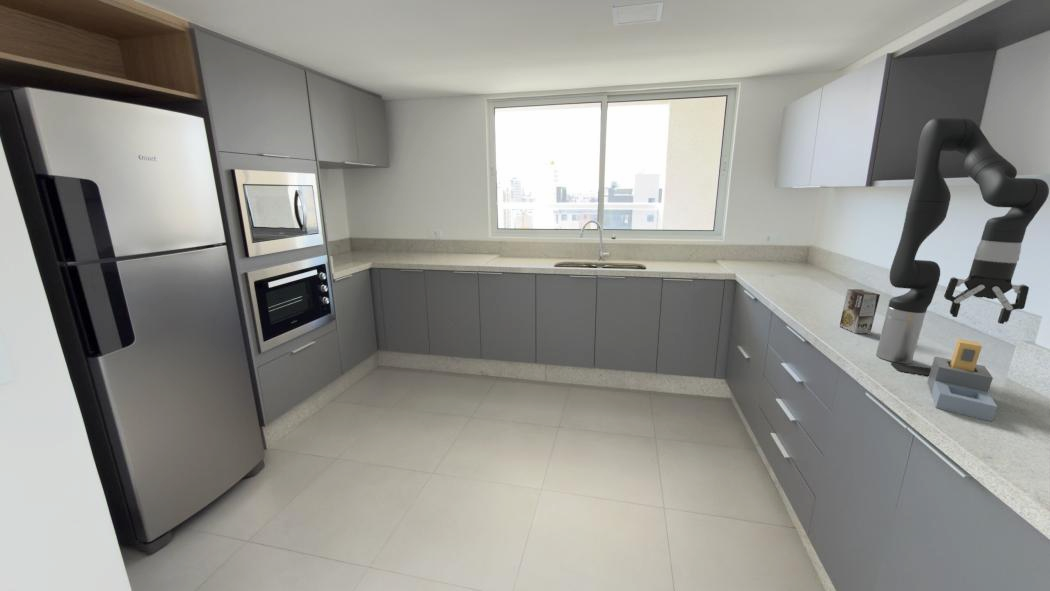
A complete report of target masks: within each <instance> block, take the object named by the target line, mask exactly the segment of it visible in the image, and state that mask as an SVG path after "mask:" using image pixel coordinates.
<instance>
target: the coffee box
mask: <svg viewBox="0 0 1050 591" xmlns="http://www.w3.org/2000/svg"><path fill="white" fill-rule="evenodd" d="M845 293H846V294H845V298H844V304H843V308H842V313H841V318H840V322H839V326H841V327H840V328H842V327H843V328H842V329H844V328H845V329H844V330H846V329H848V330H847V331H849V330H850V331H849V332H851V331H852V332H851V333H853V332H854V333H853V334H857V333H870V334H871V333H872V328H873V326H874V325H873V324H874V320H875V317H876V316H875V315H876V312H877V308H878V304H879V301H880V297H881V295H880V294H879V293H876V292H873V291H868V290H866V289H862V288H861V289H858V288H857V289H855V288H854V289H851V288H850V289H848V288H847V289H846V292H845Z"/></svg>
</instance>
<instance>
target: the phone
mask: <svg viewBox="0 0 1050 591" xmlns="http://www.w3.org/2000/svg"><path fill="white" fill-rule="evenodd" d="M890 365H891V367H893V368H894V369H895V371H897V372H900V373H903V372H904V373H905V374H909V373H910V374H909V375H915V374H918V375H917V376H922V375H923V377H928V376H929V374H930V371H931V367H925V366H919V365H911V364H906V363H897V362H891V363H890Z"/></svg>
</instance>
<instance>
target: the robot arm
mask: <svg viewBox="0 0 1050 591" xmlns="http://www.w3.org/2000/svg"><path fill="white" fill-rule="evenodd" d="M953 151H955V152H959V153H960V154H962V155H964V156H965V159H964V166H963V167H964V170H965V172H966V174H967V175H968V176H969V177H970V179H972V180H973V181H974V182H975V183H976V184H977V185H978V187H979V190H980V193H981V196H982V199H983V202H986V203H987V204H988V205H990V206H991V207H996V208H1009V210H1008V212H1006V213H1005V215H1002V216H996V217H991V218H989V219H988V220H987V221H986V223H985V225H984V227H983V232H982V235H981V238H980V241H979V244H978V246H977V247H976V250H975V254H974V257H973V259H972V264H971V266H970V267H971V268H970V271H969V274H968V276H967V278H966V279H964V278H963V279H962V278H957V277H955V276H954V277H951V278H950V280H949V282H948V285H947V287H946V290H945V293H944V295H943V298H944V299H945V300H947V301H950V302H951V306H950V309H949V313H950V314H951V315H952V317H953V318H957V317H958V314H959V312H960V309H961V302H963V301H965V300H966V299H969V298H971V297H972V296H973V297H975V298H985V299H990V300H994V299H997V300H998V301H999V303H1000V304H1001V305H1002V306H1003V308H1001V309H1000V310H1001V311H1000V313H999V317H998V319H997V323H998V324H1001V325H1004V323H1007V322H1009V321H1010V320H1009V319H1010V317H1011V314H1012V311H1014V310H1023V309H1024V308H1025V307H1026V303H1027V299H1028V294H1029V291H1030V290H1029V289H1030V288H1029V286H1027V285H1026V284H1023V283H1022V284H1013V283H1012V280H1013V278H1014V273H1015V270H1016V268H1017V265H1018V262H1019V260H1020V255H1021V251H1022V244H1023V241H1024V237H1025V235H1026V231H1027V227H1029V224H1030V223H1031V222H1032V221H1033V219H1034V218H1035V217H1036V215H1037V213H1038V212H1039V211H1040V209H1041V208H1042V207H1043V206H1044V204H1045V203H1046V201H1047V199H1048V197H1049V195H1050V193H1049V192H1050V187H1049V185H1048V183H1047V182H1046V181H1045V180H1043V179H1040V178H1032V177H1031V178H1026V177H1025V178H1024V177H1023V178H1019V177H1017V176H1018V171H1017V168H1016V167H1015V166H1014V165H1013V164H1012V163H1011V162H1010V161H1009V160H1007V159H1006V158H1005V157H1004V156H1003V155H1001V154H1000V153H999V152H998V151H996V149H995V148H994V147H993V146H992V145H991V143H990V141H989V140H988V138H987V137H986V135H985V134H984V133H983V131H982V130H981V128H980V126H979V125H978V123H977V122H975V121H974V120H972V119H971V118H967V117H936V118H932V119H930V120H928V122H927V123H926V124H925V125H924V127H923V128H922V130H921V134H920V137H919V140H918V147H917V158H916V165H915V174H914V178H913V181H912V182H913V183H912V188H911V191H910V196H909V198H908V199H909V200H908V202H907V208H906V213H905V217H904V218H905V219H904V222H903V228H902V232H901V236H900V240H899V243H898V245H897V246H898V247H897V248H896V251H895V255H894V258H893V260H892V264H891V267H890V270H889V282H890V284H891V286H892V287H894V288H898V289H906V290H907V289H909V291H908V292H906V293H904V294H902V295H897V296H894V297H892V298H890V300H889V301H888V306H887V309H886V314H885V318H884V323H883V325H882V329H881V333H880V337H879V341H878V344H877V349H876V353H875V355H876V356H877V357H878V358H880V359H883V360H886V361H889V362H891V363H898V364H912V363H913V360H914V357H915V356H914V355H915V353H916V349H917V345H918V341H919V339H920V334H921V330H922V327H923V324H924V320H925V317H926V313H927V310H928V308H929V306H930V305H931V303H932V301H933V298H934V297H935V296H934V295H935V292H936V291H937V288H938V285H939V282H940V278H941V268H940V266H939V264H938V262H936V261H933V260H922V259H921V260H920V259H916V256H917V253H918V251H919V248H920V247H921V245H922V244H923V242H925V240H926V239H927V238H928V237H929V236H930V235H931V234H932V233H934V232H935V230H937V229H938V228H939V227H940V226H941V225H942V224H943V222H944V221H945V219H946V217H947V214H948V211H949V208H950V207H949V206H950V202H951V197H952V196H951V192H950V189H949V186H948V184H947V182H946V180H945V178H944V177H943V174H942V171H941V168H940V158H941V152H953ZM962 284H964V286H965V287H966V289H965V290H963V291H962V292H960V293H959V294H957V295H955V296H953V295H954V292H955V290H956V288H957V287H960V286H961V285H962ZM1011 290H1013V292H1014V293H1015V294H1016V297H1015V302H1014V303H1011V302H1010V301H1009V299H1007V297H1006V295H1005V293H1007V292H1010V291H1011Z"/></svg>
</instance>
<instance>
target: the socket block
mask: <svg viewBox="0 0 1050 591" xmlns="http://www.w3.org/2000/svg"><path fill="white" fill-rule="evenodd" d="M933 357H934V358H933V360H932V365H931V367H930V368H931V371H930V374H929V377H928V378H927V385H928V388H929V391H930V394H931V398H932V400H933V403H934V406H935V408H937V409H940V410H944V411H949V412H951V413H956V414H960V415H964V416H968V417H973V418H977V419H980V420H985V421H989V422H993V420H994V417H995V414H996V411H997V408H998V406H997V404H996V402H995V400H994V399H993V397H992V396H991V394H990V393H989V391H990V388H991V385H992V381H993V379H994V378H993V375H991V373H990V372H989V370H988V369H987V367H986V366H985V365H981V364H977V363H976V366H975V369H974V372H973V371H968V370H963V369H958V368H953V367H950V363H951V360H952V358H944V357H940V356H939V357H938V356H933Z"/></svg>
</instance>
